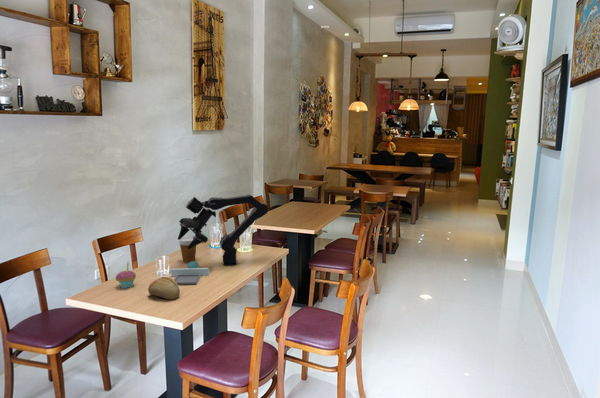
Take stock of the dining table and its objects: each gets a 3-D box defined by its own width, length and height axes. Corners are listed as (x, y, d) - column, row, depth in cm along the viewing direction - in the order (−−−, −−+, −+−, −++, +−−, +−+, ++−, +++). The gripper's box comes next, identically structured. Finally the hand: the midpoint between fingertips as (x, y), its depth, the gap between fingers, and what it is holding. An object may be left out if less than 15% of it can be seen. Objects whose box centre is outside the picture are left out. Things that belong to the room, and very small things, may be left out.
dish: (200, 276, 216) (200, 274, 215) (195, 284, 205) (195, 282, 204) (177, 277, 215) (177, 274, 215) (171, 285, 205) (171, 282, 204)
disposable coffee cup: (195, 263, 236) (194, 241, 234) (177, 263, 236) (176, 241, 234) (200, 258, 246) (198, 237, 244) (182, 258, 246) (181, 237, 244)
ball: (199, 269, 227) (198, 259, 226) (197, 272, 222) (196, 262, 221) (189, 269, 227) (189, 260, 226) (187, 272, 222) (186, 263, 221)
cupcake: (140, 284, 207) (138, 259, 205) (128, 290, 199) (125, 264, 197) (125, 282, 210) (123, 257, 208) (112, 288, 202) (110, 262, 200)
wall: (209, 274, 218) (208, 267, 218) (208, 275, 217) (208, 268, 216) (172, 275, 218) (171, 268, 217) (171, 276, 217) (170, 269, 216)
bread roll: (158, 290, 199) (157, 273, 198) (186, 295, 193) (184, 277, 192) (143, 297, 191) (141, 279, 189) (170, 303, 184) (169, 284, 183)
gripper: (182, 204, 226) (163, 229, 225) (202, 222, 215) (182, 248, 214) (195, 212, 235) (177, 236, 234) (216, 230, 224) (197, 255, 223)
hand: (183, 243), depth 226 cm, fingers open, 9 cm apart
